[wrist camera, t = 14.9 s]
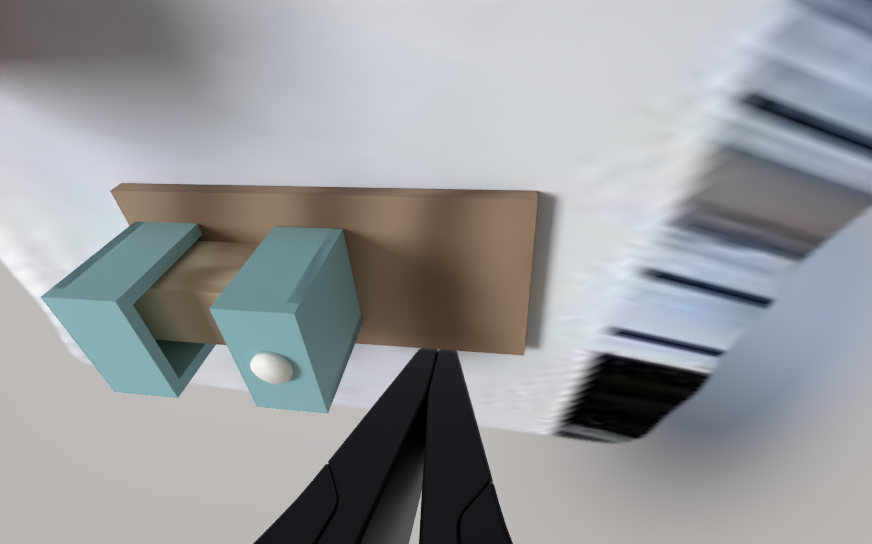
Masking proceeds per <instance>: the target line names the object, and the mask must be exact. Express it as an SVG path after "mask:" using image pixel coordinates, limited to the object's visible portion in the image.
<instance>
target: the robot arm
mask: <svg viewBox="0 0 872 544" xmlns="http://www.w3.org/2000/svg"><path fill="white" fill-rule="evenodd" d="M328 463H329V465H328V464H326V465H325V466H324V467H323V468H322V470H321V471H320V472H319V473H318V475H317V476H316V477H315V478H314V479H313V481H312V482H311V483H310V484H309V485H308V486H307V488H306V489H305V490H304V491H303V492H302V493H301V495H300V496H299V497H298V498H297V499H296V500H295V501H294V502H293V503H292V505H291V506H290V507H289V508H288V509H287V510H286V511H285V512H284V513H283V514H282V515H281V516H280V517H279V518H278V519H277V520H276V521H275V523H273V524H272V525H271V526H270V527H269V529H267V530H266V531H265V532H264V533H263V535H261V537H259V538H258V539H257V540H256V541H255V542H254V543H253V544H409V540H410V536H411V532H412V528H413V524H414V519H415V515H416V511H417V507H418V503H419V499H420V495H421V491H422V502H421V519H420V538H419V544H513V543H512V540H511V538H510V535H509V532H508V530H507V527H506V524H505V521H504V517H503V514H502V512H501V508H500V505H499V501H498V498H497V494H496V490H495V487H494V484H493V482H492V481H493V480H492V476H491V473H490V469H489V466H488V462H487V458H486V455H485V451H484V447H483V444H482V440H481V437H480V433H479V429H478V426H477V422H476V418H475V415H474V411H473V407H472V404H471V400H470V397H469V393H468V389H467V386H466V382H465V378H464V375H463V371H462V368H461V364H460V360H459V357H458V353H457V351H455V350H446V349H441V350H439V351H438V350H437V349H432V348H421V349H419V350H418V351H417V353H416V354H415V355H414V356H413V358H412V359H411V360H410V361H409V363H408V364H407V365H406V366H405V367H404V369H403V370H402V371H401V372H400V374H399V375H398V376H397V377H396V379H395V380H394V381H393V382H392V384H391V385H390V386H389V387H388V388H387V390H386V391H385V392H384V393H383V395H382V396H381V397H380V398H379V400H378V401H377V402H376V403H375V404H374V406H373V407H372V408H371V409H370V411H369V412H368V413H367V414H366V416H365V417H364V418H363V419H362V420H361V422H360V423H359V424H358V425H357V427H356V428H355V429H354V430H353V432H352V433H351V434H350V435H349V437H348V438H347V439H346V440H345V441H344V443H343V444H342V445H341V447H340V448H339V449H338V450H337V451H336V453H335V454H334V455H333V456H332V458H331V459H330V460H329V461H328Z"/></svg>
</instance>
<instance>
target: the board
mask: <svg viewBox="0 0 872 544" xmlns="http://www.w3.org/2000/svg"><path fill="white" fill-rule="evenodd" d="M111 193H112V195H113V197H114V198H115V200H116V202H117V204H118V206H119V207H120V209H121V211H122V213H123V215H124V217H125V218H126V220H127V222H128V224H129V226H130V225H132V224H133V223H134V222H135V221H136V222H167V223H197V224H198V226H199V229H200V231H201V233H202V236H201V237H200V238H199V239H198V240H197V241H212V242H238V243H261V242H262V241H263V240H264V239H265V237H266V236H267V235H268V234H269V232H270V231H271V230H272V228H273V227H304V228H334V229H343V233H344V237H345V242H346V247H347V251H348V256H349V260H350V265H351V270H352V274H353V279H354V284H355V288H356V293H357V298H358V302H359V307H360V311H361V316H362V321H363V324H362V327H361V329H360V332H359V335H358V337H357V340H356V342H355V343H360V344H374V345H388V346H402V347H416V348H432V349H446V350H457V351H471V352H485V353H499V354H512V355H524V351H525V340H526V328H527V317H528V306H529V294H530V283H531V272H532V261H533V249H534V238H535V227H536V216H537V204H538V192H537V191H507V190H452V189H398V188H343V187H289V186H234V185H180V184H125V183H121V184H120V185H118V186H117V187H115V188H114V189H112V190H111Z"/></svg>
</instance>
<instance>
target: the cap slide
mask: <svg viewBox="0 0 872 544" xmlns="http://www.w3.org/2000/svg"><path fill="white" fill-rule="evenodd" d="M209 309H210V311H211V313H212V315H213V318H214V320H215V322H216V324H217V326H218V328H219V330H220V332H221V334H222V336H223V338H224V340H225V342H226V344H227V346H228V348H229V350H230V352H231V354H232V356H233V358H234V361H235V363H236V365H237V367H238V369H239V371H240V373H241V375H242V377H243V379H244V381H245V383H246V385H247V387H248V389H249V391H250V393H251V395H252V397H253V399H254V401H255V404H256V406H257V407H267V408H277V409H288V410H298V411H308V412H318V413H328V412H329V409H330V406H331V404H332V401H333V399H334V396H335V394H336V391H337V388H338V386H339V383H340V381H341V378H342V376H343V373H344V370H345V368H346V365H347V363H348V360H349V358H350V355H351V353H352V350H353V347H354V345H355V342H356V340H357V337H358V335H359V332H360V329H361V327H362V324H363V321H362V316H361V311H360V307H359V302H358V298H357V293H356V288H355V284H354V279H353V274H352V270H351V265H350V260H349V256H348V251H347V247H346V242H345V237H344V233H343V229H334V228H304V227H273V228H272V230H271V231H270V232H269V234H268V235H267V236H266V237H265V239H264V240H263V241H262V242H261V244H260V245H259V246H258V247H257V249H256V250H255V251H254V252H253V254H252V255H251V256H250V258H249V259H248V260H247V261H246V263H245V264H244V265H243V266H242V268H241V269H240V270H239V271H238V273H237V274H236V275H235V276H234V278H233V279H232V280H231V282H230V283H229V284H228V285H227V287H226V288H225V289H224V290H223V292H222V293H221V294H220V295H219V297H218V298H217V299H216V300H215V302H214V303H213V304H212V306H211V307H210V308H209Z"/></svg>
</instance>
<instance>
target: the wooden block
mask: <svg viewBox="0 0 872 544" xmlns="http://www.w3.org/2000/svg"><path fill="white" fill-rule="evenodd" d="M260 244H261V243H238V242H212V241H196V242H195V243H194V244H193V245H192V246H191V247H190V248H189V249H188V250H187V251H186V252H185V253H184V254H183V255H182V256H181V257H180V258H179V259H178V260H177V261H176V262H175V263H174V264H173V265H172V266H171V267H170V268H169V269H168V270H167V271H166V272H165V273H164V274H163V275H162V276H161V277H160V278H159V279H158V280H157V281H156V282H155V283H154V284H153V285H152V286H151V287H150V288H149V289H148V290H147V291H146V292H145V293H144V294H143V295H142V296H141V297H140V298H139V299H138V300H137V301H136V302H135V303H134V304H133V306H134V307H135V309H136V311H137V312H138V314H139V315H140V317H141V319H142V320H143V322H144V323H145V325H146V327H147V328H148V330H149V331H150V333H151V335H152V336H153V338H154V339H155V340H168V341H181V342H194V343H207V344H220V345H227V344H226V342H225V340H224V338H223V336H222V334H221V332H220V330H219V328H218V326H217V324H216V322H215V320H214V318H213V315H212V313H211V311H210V309H209V308H210V307H211V306H212V304H213V303H214V302H215V300H216V299H217V298H218V297H219V295H220V294H221V293H222V292H223V290H224V289H225V288H226V287H227V285H228V284H229V283H230V282H231V280H232V279H233V278H234V276H235V275H236V274H237V273H238V271H239V270H240V269H241V268H242V266H243V265H244V264H245V263H246V261H247V260H248V259H249V258H250V256H251V255H252V254H253V252H254V251H255V250H256V249H257V247H258V246H259V245H260Z"/></svg>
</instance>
